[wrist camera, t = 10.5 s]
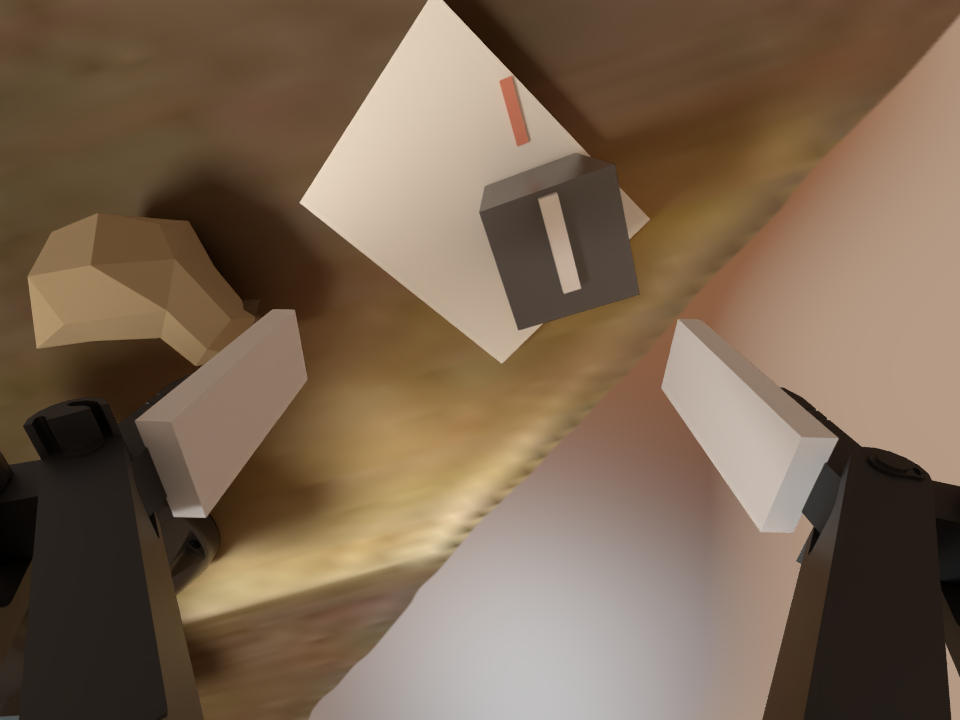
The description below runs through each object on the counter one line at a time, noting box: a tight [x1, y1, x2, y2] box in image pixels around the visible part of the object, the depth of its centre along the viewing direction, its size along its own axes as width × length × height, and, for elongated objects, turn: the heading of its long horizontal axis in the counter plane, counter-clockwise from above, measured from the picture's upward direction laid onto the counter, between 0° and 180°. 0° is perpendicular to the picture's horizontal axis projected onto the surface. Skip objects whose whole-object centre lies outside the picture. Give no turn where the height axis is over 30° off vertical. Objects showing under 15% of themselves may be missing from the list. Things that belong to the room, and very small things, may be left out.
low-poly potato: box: [28, 213, 261, 366], centre depth 33 cm, size 15×11×12 cm
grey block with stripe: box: [479, 153, 640, 331], centre depth 27 cm, size 7×7×12 cm
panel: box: [300, 0, 650, 364], centre depth 31 cm, size 16×20×7 cm
